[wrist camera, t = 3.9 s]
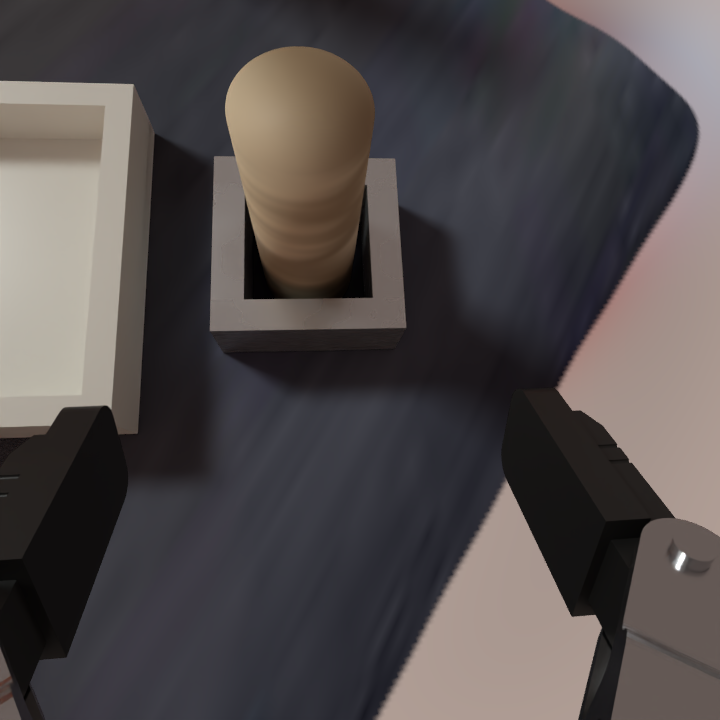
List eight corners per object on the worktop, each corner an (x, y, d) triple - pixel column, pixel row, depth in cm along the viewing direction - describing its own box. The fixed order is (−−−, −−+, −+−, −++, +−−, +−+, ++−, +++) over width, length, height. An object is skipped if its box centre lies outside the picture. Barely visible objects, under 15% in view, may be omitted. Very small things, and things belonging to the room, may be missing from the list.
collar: (223, 352, 26) (209, 331, 23) (226, 197, 28) (214, 156, 25) (394, 348, 27) (406, 327, 24) (385, 198, 29) (395, 158, 26)
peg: (298, 328, 27) (283, 201, 15) (247, 262, 27) (195, 91, 16) (368, 280, 28) (404, 124, 16) (317, 216, 28) (315, 23, 17)
